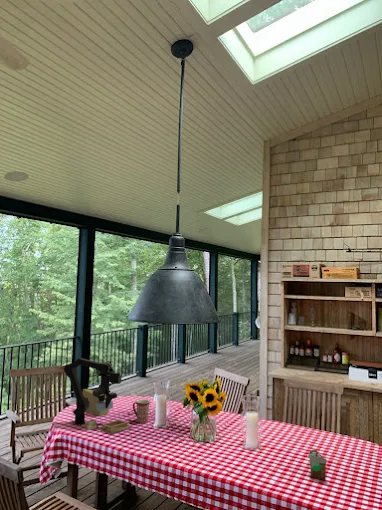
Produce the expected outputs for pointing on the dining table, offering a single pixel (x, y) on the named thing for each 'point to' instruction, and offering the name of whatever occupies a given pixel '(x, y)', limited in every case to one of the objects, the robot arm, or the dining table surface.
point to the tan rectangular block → (90, 424)
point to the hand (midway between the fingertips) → (104, 407)
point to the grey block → (103, 405)
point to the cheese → (93, 403)
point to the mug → (141, 410)
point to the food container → (317, 465)
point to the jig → (114, 427)
